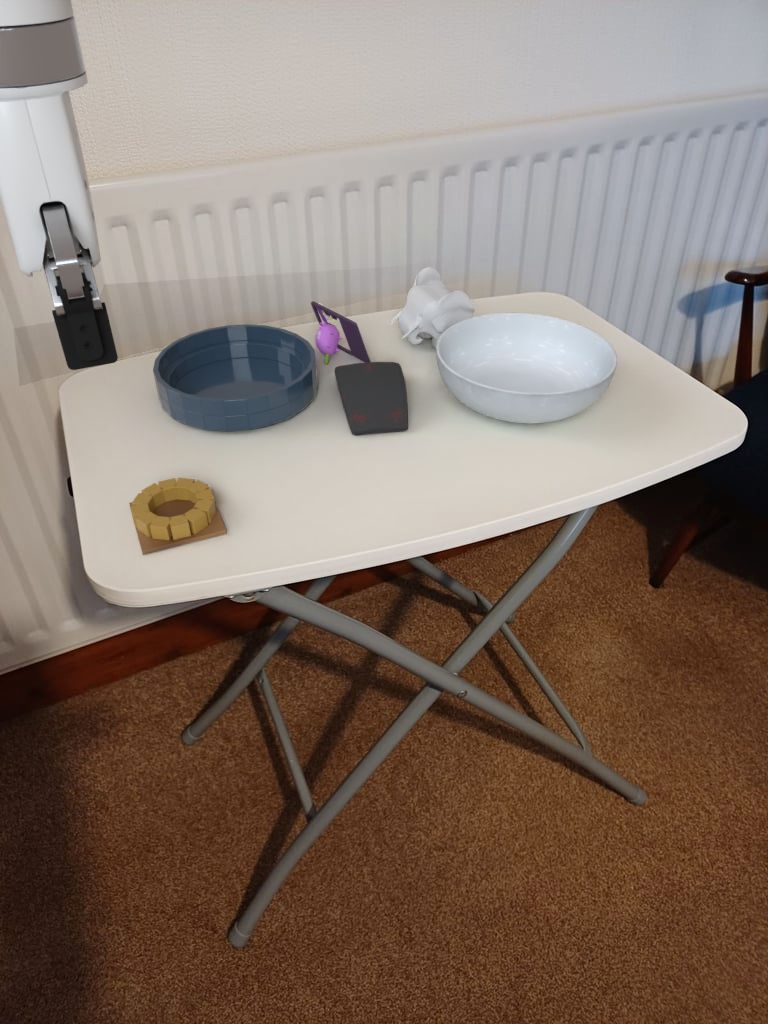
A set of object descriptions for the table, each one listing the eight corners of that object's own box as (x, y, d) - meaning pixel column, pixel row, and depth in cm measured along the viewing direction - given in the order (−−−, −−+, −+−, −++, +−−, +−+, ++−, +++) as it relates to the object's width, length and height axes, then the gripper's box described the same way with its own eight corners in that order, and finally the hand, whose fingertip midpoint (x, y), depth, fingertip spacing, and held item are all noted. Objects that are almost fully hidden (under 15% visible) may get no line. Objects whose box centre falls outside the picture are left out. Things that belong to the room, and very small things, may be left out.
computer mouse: (395, 374, 100) (395, 345, 98) (415, 431, 90) (415, 401, 87) (332, 379, 99) (331, 350, 97) (345, 437, 89) (344, 407, 86)
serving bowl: (635, 438, 89) (648, 385, 84) (454, 455, 86) (458, 401, 82) (573, 353, 105) (581, 305, 100) (419, 365, 102) (420, 316, 98)
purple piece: (360, 319, 98) (316, 297, 103) (330, 344, 96) (287, 320, 101) (374, 359, 103) (331, 336, 108) (346, 383, 101) (304, 359, 107)
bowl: (177, 449, 87) (170, 414, 84) (148, 372, 101) (141, 340, 98) (339, 414, 93) (337, 380, 90) (290, 345, 107) (288, 314, 104)
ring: (140, 548, 73) (137, 535, 72) (130, 500, 79) (126, 488, 78) (223, 528, 76) (220, 515, 75) (207, 483, 81) (204, 471, 80)
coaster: (142, 555, 73) (141, 551, 73) (129, 506, 79) (128, 502, 79) (226, 533, 76) (226, 529, 76) (208, 488, 82) (207, 484, 81)
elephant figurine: (380, 335, 109) (379, 273, 104) (457, 320, 113) (460, 259, 107) (408, 365, 102) (409, 300, 97) (489, 348, 106) (494, 285, 100)
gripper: (-56, 39, 50) (22, 296, 60) (-63, 91, 37) (37, 403, 48) (67, 32, 52) (122, 281, 63) (100, 79, 40) (161, 379, 50)
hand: (85, 334), depth 55 cm, fingers open, 9 cm apart
